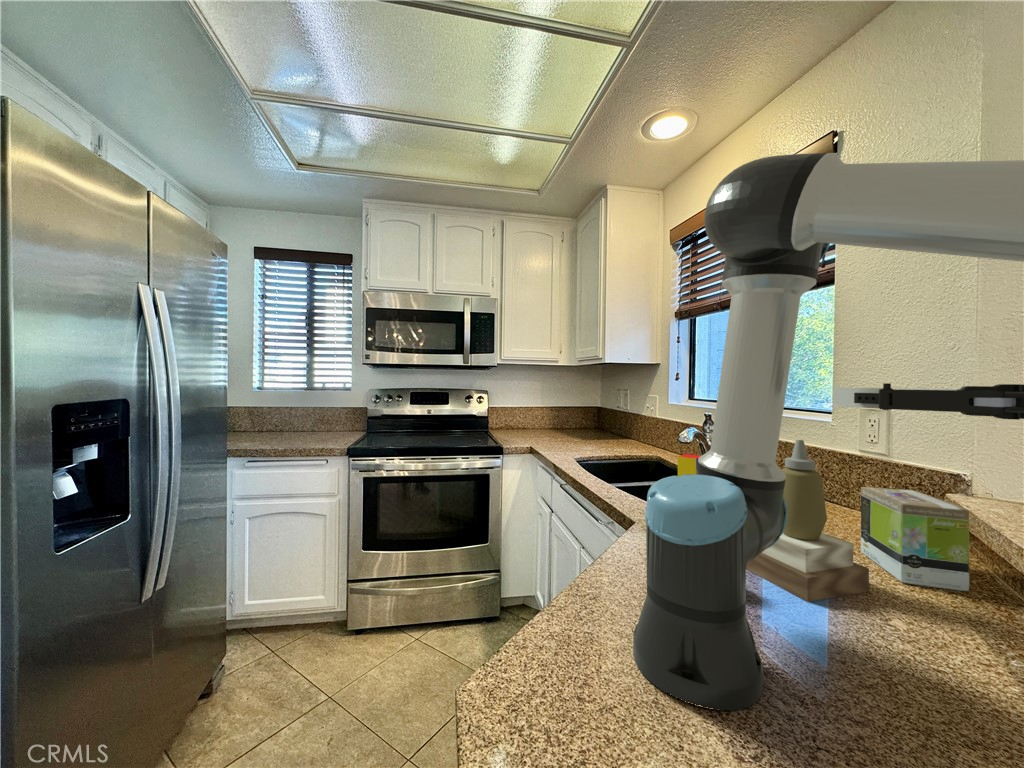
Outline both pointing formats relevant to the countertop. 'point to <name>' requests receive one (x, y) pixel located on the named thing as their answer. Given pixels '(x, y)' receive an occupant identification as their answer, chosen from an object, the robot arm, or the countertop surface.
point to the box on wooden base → (812, 567)
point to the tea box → (916, 537)
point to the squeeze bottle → (803, 496)
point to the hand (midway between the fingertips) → (868, 397)
